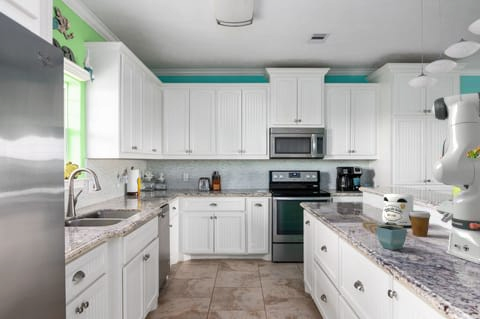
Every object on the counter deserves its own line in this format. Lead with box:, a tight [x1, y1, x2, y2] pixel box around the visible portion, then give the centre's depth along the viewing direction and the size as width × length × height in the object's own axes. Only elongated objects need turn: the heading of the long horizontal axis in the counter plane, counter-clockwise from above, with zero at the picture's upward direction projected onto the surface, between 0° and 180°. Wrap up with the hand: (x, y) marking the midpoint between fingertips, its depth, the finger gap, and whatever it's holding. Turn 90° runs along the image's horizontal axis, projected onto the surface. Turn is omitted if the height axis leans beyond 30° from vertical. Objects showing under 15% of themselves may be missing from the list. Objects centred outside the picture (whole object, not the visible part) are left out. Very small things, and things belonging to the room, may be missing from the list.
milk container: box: [381, 193, 414, 228], centre depth 182 cm, size 17×17×18 cm
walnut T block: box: [361, 221, 405, 235], centre depth 166 cm, size 24×16×3 cm, turn 0°
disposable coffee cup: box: [409, 210, 432, 238], centre depth 157 cm, size 10×10×12 cm
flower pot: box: [376, 226, 408, 251], centre depth 134 cm, size 9×9×9 cm
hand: (443, 221), depth 157 cm, fingers closed
